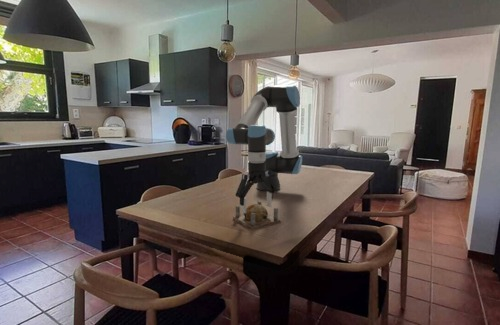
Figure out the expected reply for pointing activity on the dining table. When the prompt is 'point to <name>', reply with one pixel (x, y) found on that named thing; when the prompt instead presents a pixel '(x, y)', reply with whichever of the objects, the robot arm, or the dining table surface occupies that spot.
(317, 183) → the dining table surface
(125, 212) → the dining table surface
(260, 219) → the bread roll
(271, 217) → the trivet
